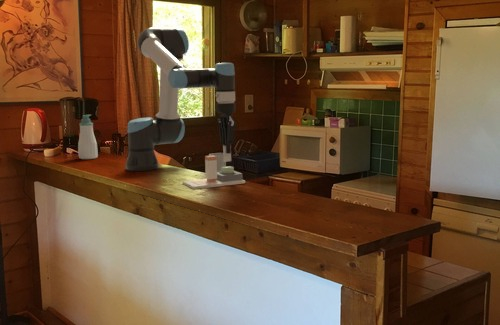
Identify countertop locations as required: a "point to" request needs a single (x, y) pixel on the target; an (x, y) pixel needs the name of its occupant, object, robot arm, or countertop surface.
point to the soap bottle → (87, 140)
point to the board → (220, 181)
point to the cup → (219, 161)
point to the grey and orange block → (211, 168)
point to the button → (227, 170)
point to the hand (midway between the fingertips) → (227, 161)
